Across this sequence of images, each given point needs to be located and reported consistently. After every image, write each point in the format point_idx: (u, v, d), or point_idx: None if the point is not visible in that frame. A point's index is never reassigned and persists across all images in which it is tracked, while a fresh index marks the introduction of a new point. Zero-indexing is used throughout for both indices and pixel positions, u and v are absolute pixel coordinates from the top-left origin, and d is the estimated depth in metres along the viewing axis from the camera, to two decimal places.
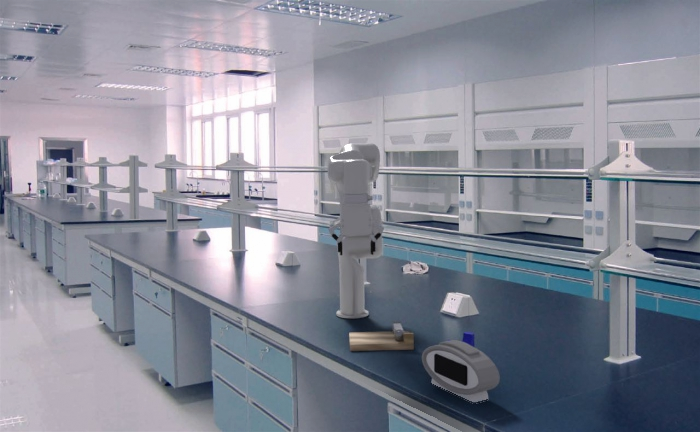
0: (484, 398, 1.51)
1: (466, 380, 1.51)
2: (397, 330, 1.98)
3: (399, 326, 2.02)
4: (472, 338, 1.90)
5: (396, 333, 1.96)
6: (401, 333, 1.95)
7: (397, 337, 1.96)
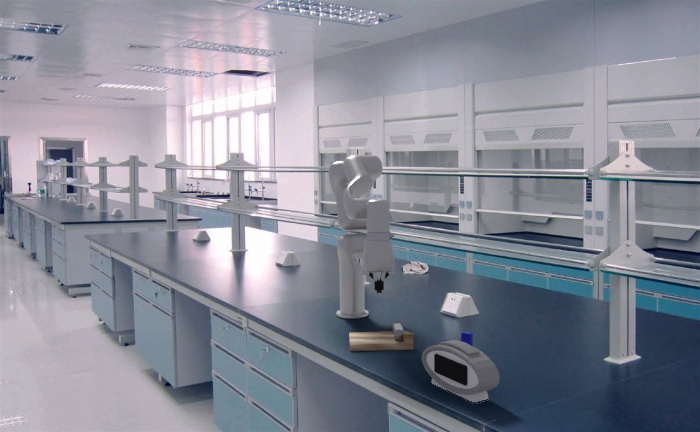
0: (484, 398, 1.51)
1: (466, 380, 1.51)
2: (397, 330, 1.98)
3: (399, 326, 2.02)
4: (470, 338, 1.90)
5: (396, 333, 1.96)
6: (401, 333, 1.95)
7: (397, 337, 1.96)
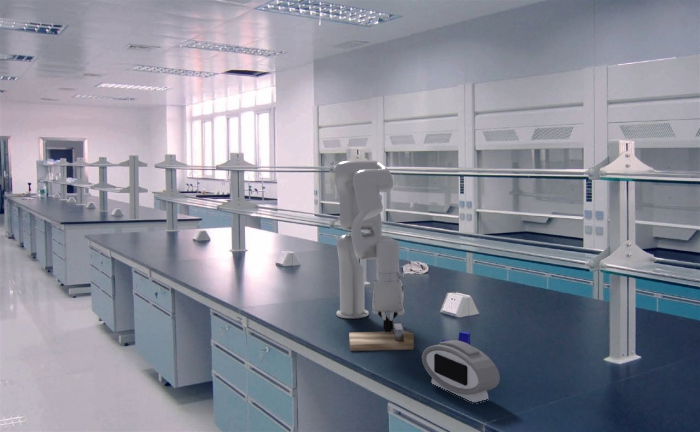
0: (484, 398, 1.51)
1: (466, 380, 1.51)
2: (397, 330, 1.98)
3: (399, 326, 2.02)
4: (468, 337, 1.90)
5: (396, 333, 1.96)
6: (401, 333, 1.95)
7: (397, 337, 1.96)
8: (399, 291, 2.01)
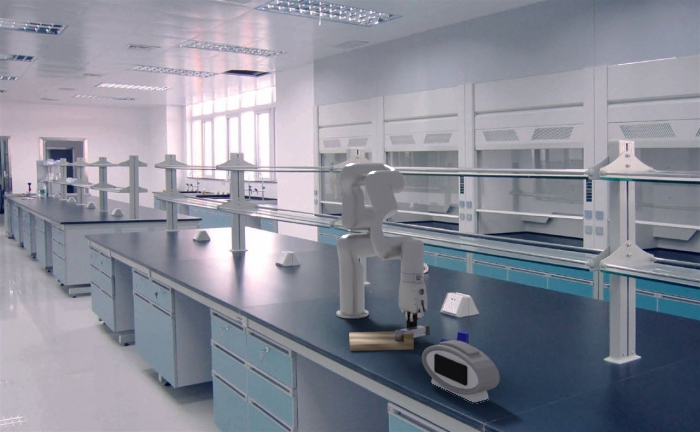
0: (484, 398, 1.51)
1: (466, 380, 1.51)
2: (401, 329, 1.98)
3: (413, 328, 1.99)
4: (466, 337, 1.90)
5: None
6: (396, 333, 1.96)
7: (395, 336, 1.97)
8: (415, 293, 1.98)
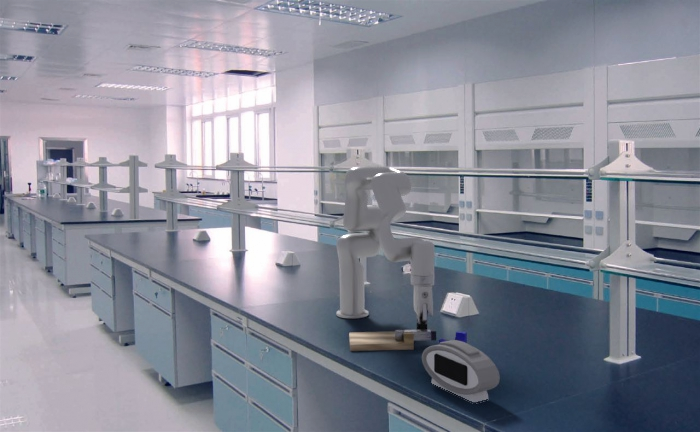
0: (484, 398, 1.51)
1: (466, 380, 1.51)
2: (403, 330, 1.97)
3: (416, 331, 1.96)
4: (464, 337, 1.91)
5: None
6: (395, 332, 1.96)
7: None
8: (418, 295, 1.94)
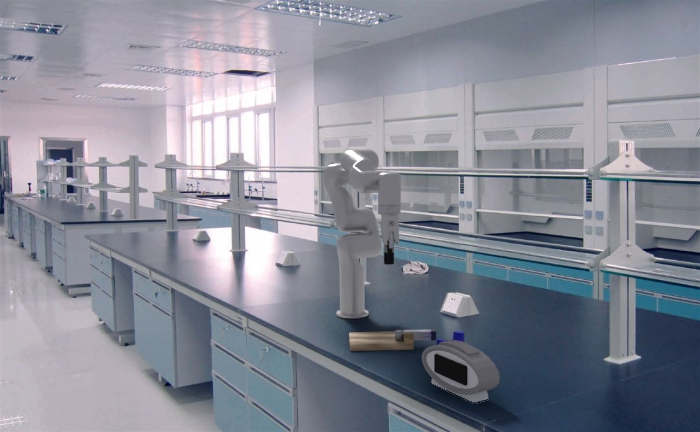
0: (484, 398, 1.51)
1: (466, 380, 1.51)
2: (403, 330, 1.97)
3: (416, 331, 1.96)
4: (462, 337, 1.91)
5: None
6: (395, 332, 1.96)
7: None
8: (384, 224, 2.01)
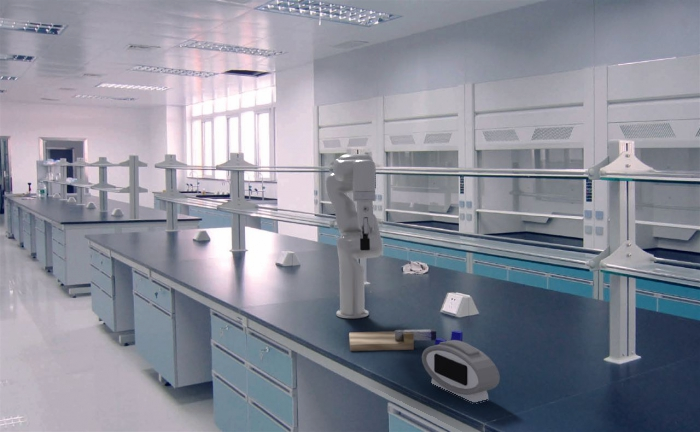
0: (484, 398, 1.51)
1: (466, 380, 1.51)
2: (403, 330, 1.97)
3: (416, 331, 1.96)
4: (460, 336, 1.92)
5: None
6: (395, 332, 1.96)
7: None
8: (359, 210, 2.06)
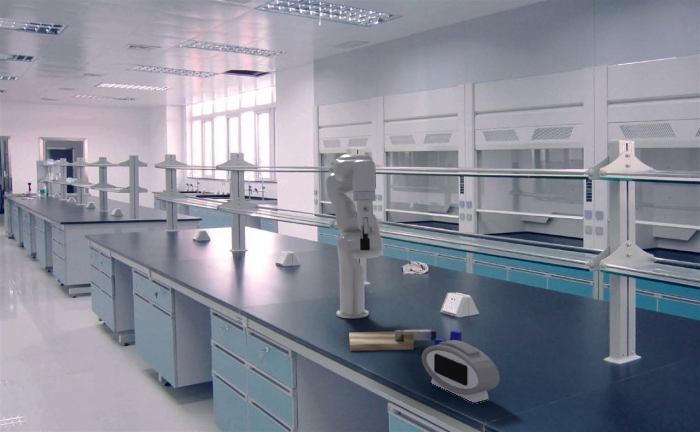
0: (484, 398, 1.51)
1: (466, 380, 1.51)
2: (403, 330, 1.97)
3: (416, 331, 1.96)
4: (459, 336, 1.92)
5: None
6: (395, 332, 1.96)
7: None
8: (359, 210, 2.06)
